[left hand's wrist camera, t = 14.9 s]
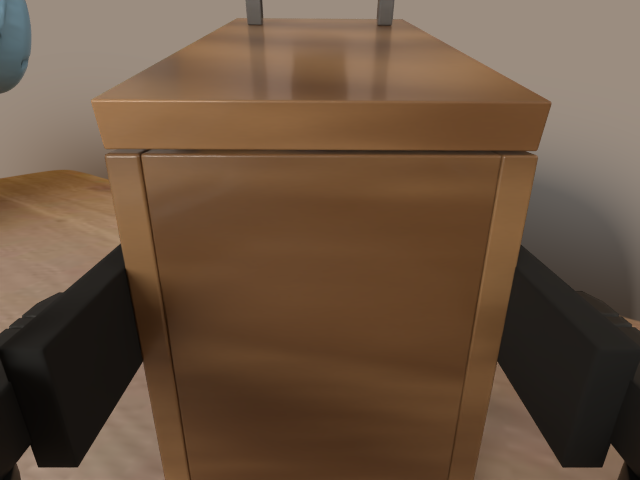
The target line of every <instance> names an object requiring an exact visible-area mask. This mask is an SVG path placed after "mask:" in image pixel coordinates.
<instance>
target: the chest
mask: <svg viewBox="0 0 640 480" xmlns="http://www.w3.org/2000/svg"><path fill="white" fill-rule="evenodd" d="M537 160H538V156H536V155H534V154H531V153H529V152H526V151H418V150H192V149H118V150H115V151H112V152H110V153H107V154H105V161H106V167H107V172H108V177H109V183H110V188H111V193H112V199H113V204H114V209H115V215H116V220H117V225H118V231H119V236H120V241H121V247H122V252H123V257H124V263H125V268H126V273H127V279H128V284H129V289H130V295H131V300H132V305H133V311H134V316H135V321H136V327H137V332H138V337H139V343H140V348H141V353H142V359H143V364H144V369H145V375H146V380H147V385H148V391H149V396H150V401H151V407H152V412H153V417H154V423H155V428H156V433H157V439H158V444H159V449H160V455H161V460H162V465H163V471H164V476H165V480H474V475H475V470H476V465H477V460H478V455H479V450H480V445H481V440H482V435H483V430H484V425H485V420H486V415H487V410H488V405H489V400H490V395H491V390H492V385H493V380H494V375H495V370H496V365H497V359H498V354H499V349H500V344H501V339H502V333H503V328H504V323H505V318H506V313H507V308H508V303H509V298H510V292H511V287H512V282H513V277H514V272H515V267H516V265H517V260H518V255H519V250H520V245H521V240H522V235H523V230H524V225H525V220H526V215H527V210H528V205H529V200H530V195H531V190H532V185H533V180H534V175H535V170H536V165H537Z"/></svg>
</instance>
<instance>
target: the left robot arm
mask: <svg viewBox="0 0 640 480" xmlns="http://www.w3.org/2000/svg"><path fill="white" fill-rule="evenodd" d="M497 361H498V363H499V365H500V366H501V368H502V370H503V371H504V373H505V374H506V376H507V378H508V379H509V381H510V383H511V384H512V386H513V387H514V389H515V391H516V392H517V394H518V396H519V397H520V399H521V400H522V402H523V404H524V405H525V407H526V409H527V410H528V412H529V413H530V415H531V417H532V418H533V420H534V422H535V423H536V425H537V426H538V428H539V430H540V431H541V433H542V435H543V436H544V438H545V439H546V441H547V443H548V444H549V446H550V448H551V449H552V451H553V452H554V454H555V456H556V457H557V459H558V461H559V462H560V464H561V465H562V467H603V464H604V461H605V458H606V455H607V452H608V450H609V447H610V444H612V445H613V447H614V448H615V449H616V450H617V452H618V453H619V454H620V456H621V457H622V458H623V459H624V464H623V466H622V469H621V472H620V474H619V477H618V480H640V331H639V330H638V329H637V328H635V327H632V324H630V323H629V322H628V321H627V320H625V319H624V318H623V317H619V314H618V313H617V312H615V311H614V310H613V309H612V308H610V307H609V306H608V305H607V304H606V303H604V302H603V301H601V300H599V299H597V298H595V297H593V296H591V295H589V294H587V293H585V292H583V291H574V290H573V289H572V288H571V287H570V286H569V285H567V284H566V283H565V282H564V281H563V280H562V279H560V278H559V277H558V276H557V275H556V274H555V273H553V272H552V271H551V270H550V269H549V268H548V267H546V266H545V265H544V264H543V263H542V262H541V261H539V260H538V259H537V258H536V257H535V256H533V255H532V254H531V253H530V252H529V251H528V250H526V249H525V248H524V247H523V246H522V245H520V250H519V255H518V260H517V265H516V267H515V272H514V277H513V282H512V287H511V292H510V298H509V303H508V308H507V313H506V318H505V323H504V328H503V333H502V339H501V344H500V349H499V354H498V359H497ZM142 362H143V359H142V353H141V348H140V343H139V337H138V332H137V327H136V321H135V316H134V311H133V305H132V300H131V295H130V289H129V284H128V279H127V273H126V268H125V263H124V257H123V252H122V247H121V244H120V245H119V246H117V247H116V248H115V249H114V250H113V251H112V252H110V253H109V254H108V255H107V256H106V257H105V258H103V259H102V260H101V261H100V262H99V263H98V264H96V265H95V266H94V267H93V268H92V269H91V270H89V271H88V272H87V273H86V274H85V275H84V276H82V277H81V278H80V279H79V280H78V281H76V282H75V283H74V284H73V285H72V286H71V287H69V288H68V289H67V290H66V291H65V292H64V293H57V294H55V295H53V296H51V297H49V298H47V299H45V300H43V301H41V302H39V303H37V304H36V305H35V306H34V307H32V308H31V309H30V310H29V311H27V312H26V313H25V314H24V315H22V318H19V319H18V320H16V321H15V322H14V323H13V324H11V325H10V326H9V329H5V330H4V331H3V332H2V333H0V480H21V478H20V472H19V469H18V466H17V464H16V462H17V461H18V460H19V459H20V457H21V456H22V455H23V453H24V452H25V451H26V450H27V448H28V447H29V446H30V445H31V448H32V451H33V454H34V457H35V459H36V462H37V465H38V467H78V466H79V465H80V463H81V461H82V460H83V458H84V456H85V455H86V453H87V452H88V450H89V448H90V447H91V445H92V443H93V442H94V440H95V439H96V437H97V435H98V434H99V432H100V430H101V429H102V427H103V426H104V424H105V422H106V421H107V419H108V417H109V416H110V414H111V412H112V411H113V409H114V408H115V406H116V404H117V403H118V401H119V399H120V398H121V396H122V395H123V393H124V391H125V390H126V388H127V386H128V385H129V383H130V382H131V380H132V378H133V377H134V375H135V373H136V372H137V370H138V369H139V367H140V365H141V364H142Z"/></svg>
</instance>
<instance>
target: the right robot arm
mask: <svg viewBox="0 0 640 480" xmlns="http://www.w3.org/2000/svg"><path fill="white" fill-rule="evenodd" d="M30 52H31V25H30V18H29V13H28V9H27V5H26V2H25V0H0V93H4V92H7V91H9V90H11V89H12V88H14V87H15V86H16V85H17V84H18V83H19V82H20V80H21V79H22V77H23V75H24V73H25V71H26V69H27V65H28V59H29V56H30Z"/></svg>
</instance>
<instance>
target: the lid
mask: <svg viewBox="0 0 640 480" xmlns="http://www.w3.org/2000/svg"><path fill="white" fill-rule="evenodd" d="M393 9H394V0H378V8H377V19H264V18H263V7H262V0H246V10H247V18H237V19H235V20H233V21H231V22H230V23H228V24H226V25H224V26H222V27H221V28H219V29H217V30H215V31H214V32H212V33H210V34H208V35H206V36H204V37H203V38H201V39H199V40H197V41H196V42H194V43H192V44H190V45H188V46H187V47H185V48H183V49H181V50H179V51H178V52H176V53H174V54H172V55H170V56H169V57H167V58H165V59H163V60H161V61H160V62H158V63H156V64H154V65H153V66H151V67H149V68H147V69H145V70H144V71H142V72H140V73H138V74H136V75H135V76H133V77H131V78H129V79H127V80H126V81H124V82H122V83H120V84H118V85H117V86H115V87H113V88H111V89H110V90H108V91H106V92H104V93H102V94H101V95H99V96H97V97H95V98H93V99H92V100H91V103H92V106H93V110H94V113H95V117H96V120H97V124H98V127H99V131H100V134H101V137H102V141H103V144H104V148H105V149H192V150H418V151H537V149H538V146H539V143H540V140H541V136H542V133H543V130H544V127H545V123H546V120H547V117H548V113H549V110H550V107H551V102H550V101H548V100H547V99H545V98H543V97H541V96H540V95H538V94H536V93H534V92H532V91H530V90H529V89H527V88H525V87H523V86H522V85H520V84H518V83H516V82H514V81H513V80H511V79H509V78H507V77H505V76H503V75H502V74H500V73H498V72H496V71H494V70H493V69H491V68H489V67H487V66H485V65H484V64H482V63H480V62H478V61H476V60H475V59H473V58H471V57H469V56H467V55H466V54H464V53H462V52H460V51H458V50H457V49H455V48H453V47H451V46H449V45H448V44H446V43H444V42H442V41H440V40H439V39H437V38H435V37H433V36H431V35H430V34H428V33H426V32H424V31H422V30H421V29H419V28H417V27H415V26H413V25H412V24H410V23H408V22H406V21H404V20H402V19H393Z"/></svg>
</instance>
